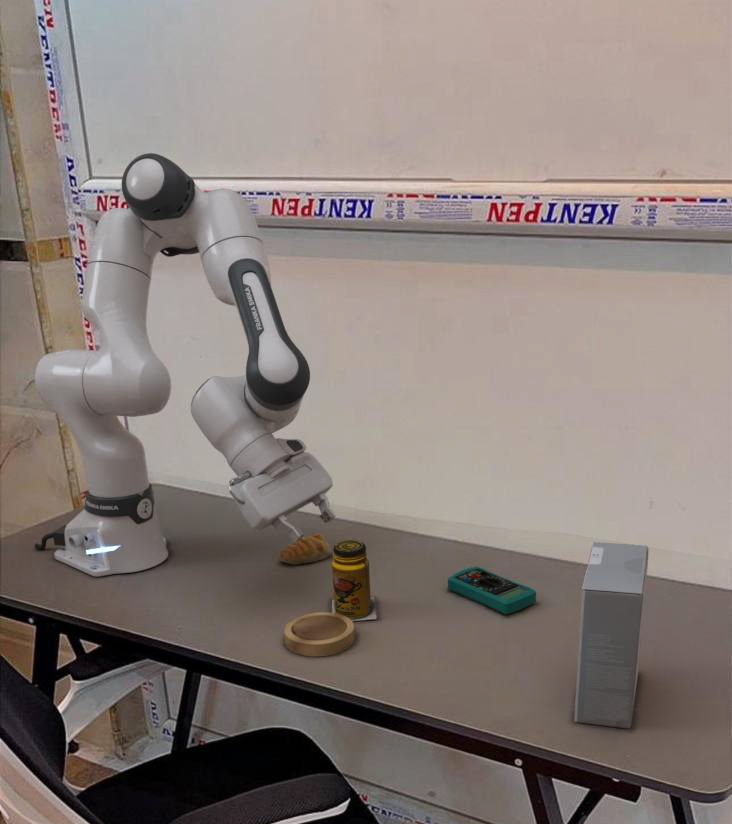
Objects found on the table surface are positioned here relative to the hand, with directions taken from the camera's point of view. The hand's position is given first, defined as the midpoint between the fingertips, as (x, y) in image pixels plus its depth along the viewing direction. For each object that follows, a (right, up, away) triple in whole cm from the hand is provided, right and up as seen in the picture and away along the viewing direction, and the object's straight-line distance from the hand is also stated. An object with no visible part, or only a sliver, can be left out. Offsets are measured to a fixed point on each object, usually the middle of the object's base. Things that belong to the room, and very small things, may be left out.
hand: (315, 529), depth 160 cm
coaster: (+1, -18, -7) cm, 20 cm away
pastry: (-3, -3, +23) cm, 23 cm away
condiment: (+6, -14, +2) cm, 15 cm away
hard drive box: (+42, -26, -26) cm, 55 cm away
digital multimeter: (+29, -11, +4) cm, 32 cm away
